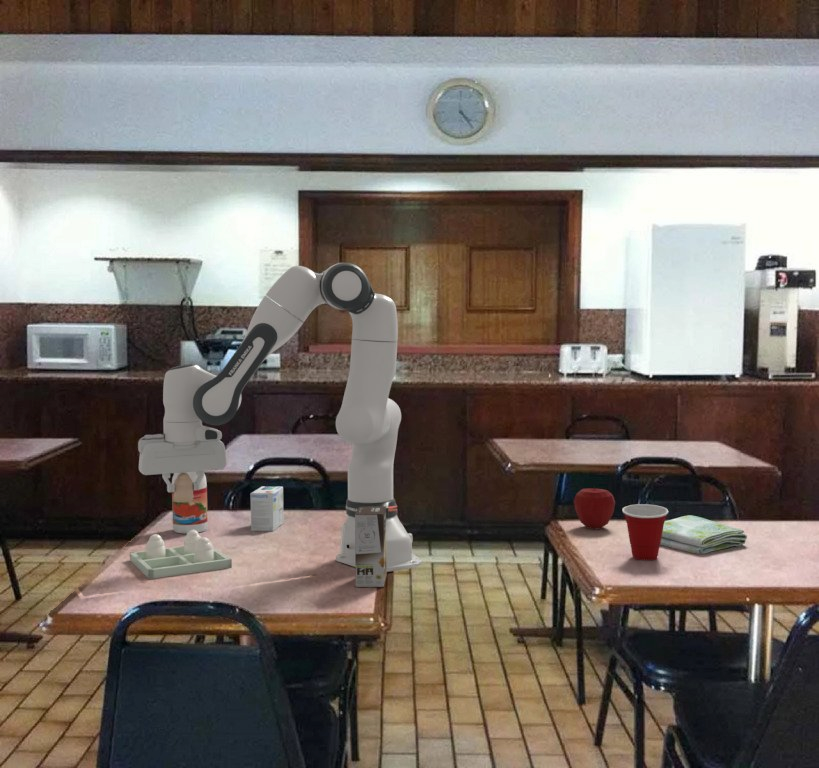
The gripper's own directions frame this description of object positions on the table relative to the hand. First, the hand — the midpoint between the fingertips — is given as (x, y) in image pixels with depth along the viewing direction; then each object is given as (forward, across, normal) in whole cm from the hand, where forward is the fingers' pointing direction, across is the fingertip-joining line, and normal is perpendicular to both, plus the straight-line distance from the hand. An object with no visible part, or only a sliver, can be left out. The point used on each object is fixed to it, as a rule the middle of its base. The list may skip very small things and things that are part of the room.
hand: (183, 490), depth 223 cm
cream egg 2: (+17, +3, +3) cm, 18 cm away
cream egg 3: (+17, +3, -6) cm, 18 cm away
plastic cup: (+16, +98, -50) cm, 111 cm away
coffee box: (+17, +32, -36) cm, 51 cm away
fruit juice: (+18, +11, +36) cm, 42 cm away
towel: (+17, +120, -43) cm, 129 cm away
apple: (+16, +109, -17) cm, 112 cm away
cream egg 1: (+17, -6, +3) cm, 18 cm away
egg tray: (+18, -1, -1) cm, 18 cm away
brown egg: (+2, 0, 0) cm, 2 cm away
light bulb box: (+18, +31, +29) cm, 46 cm away
